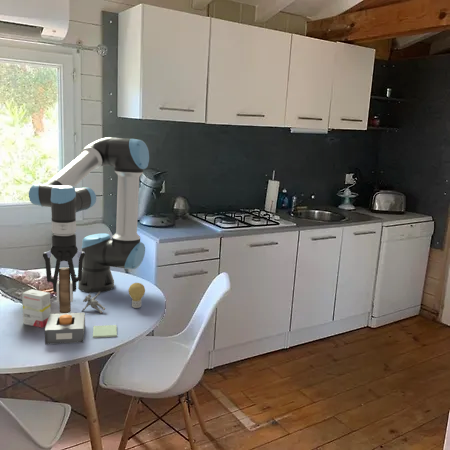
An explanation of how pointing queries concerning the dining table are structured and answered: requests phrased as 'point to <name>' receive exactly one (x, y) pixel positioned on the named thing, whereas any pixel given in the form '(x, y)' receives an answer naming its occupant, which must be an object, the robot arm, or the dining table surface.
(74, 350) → the dining table surface
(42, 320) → the ink box
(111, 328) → the mat
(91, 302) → the elephant figurine
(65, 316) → the button
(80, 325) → the grey square holder
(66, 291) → the walnut dowel
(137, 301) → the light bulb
